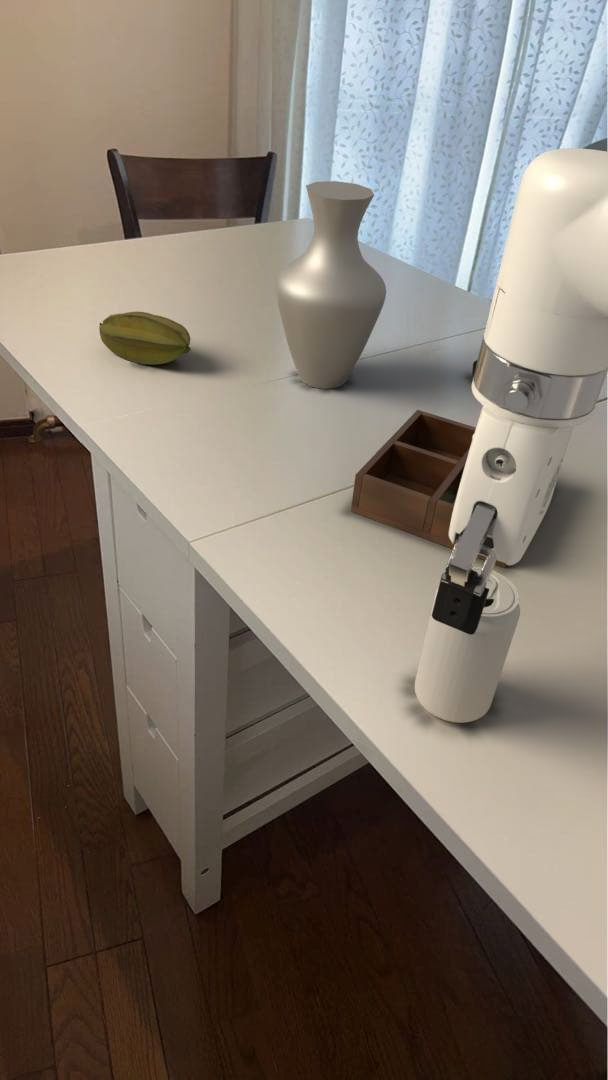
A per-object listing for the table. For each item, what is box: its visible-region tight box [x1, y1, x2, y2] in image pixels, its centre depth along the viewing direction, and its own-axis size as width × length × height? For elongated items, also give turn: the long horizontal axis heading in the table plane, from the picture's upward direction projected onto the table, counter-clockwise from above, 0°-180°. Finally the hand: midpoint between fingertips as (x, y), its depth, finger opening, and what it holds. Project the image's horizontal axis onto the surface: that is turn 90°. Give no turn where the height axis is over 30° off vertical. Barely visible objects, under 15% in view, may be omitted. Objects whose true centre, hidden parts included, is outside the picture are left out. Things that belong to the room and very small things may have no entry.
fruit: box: [98, 311, 192, 366], centre depth 110 cm, size 11×12×7 cm
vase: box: [274, 180, 387, 390], centre depth 104 cm, size 14×14×25 cm
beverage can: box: [414, 566, 521, 723], centre depth 63 cm, size 6×6×12 cm
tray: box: [350, 409, 507, 569], centre depth 88 cm, size 17×17×5 cm
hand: (475, 586), depth 59 cm, fingers open, 9 cm apart
